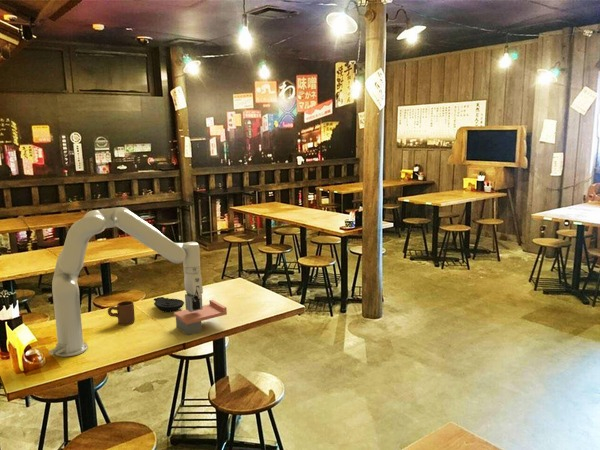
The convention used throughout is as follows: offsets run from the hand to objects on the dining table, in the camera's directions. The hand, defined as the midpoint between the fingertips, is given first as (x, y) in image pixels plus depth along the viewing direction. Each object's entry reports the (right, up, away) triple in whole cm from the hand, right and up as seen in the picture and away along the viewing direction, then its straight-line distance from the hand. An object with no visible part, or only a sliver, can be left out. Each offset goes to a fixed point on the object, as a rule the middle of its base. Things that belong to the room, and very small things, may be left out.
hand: (193, 307), depth 228 cm
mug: (-36, -9, +8) cm, 38 cm away
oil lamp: (-19, -6, +27) cm, 33 cm away
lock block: (0, -1, 0) cm, 1 cm away
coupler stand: (+2, -10, +4) cm, 10 cm away
